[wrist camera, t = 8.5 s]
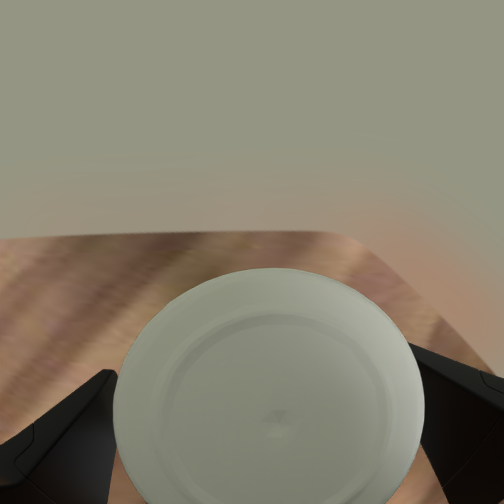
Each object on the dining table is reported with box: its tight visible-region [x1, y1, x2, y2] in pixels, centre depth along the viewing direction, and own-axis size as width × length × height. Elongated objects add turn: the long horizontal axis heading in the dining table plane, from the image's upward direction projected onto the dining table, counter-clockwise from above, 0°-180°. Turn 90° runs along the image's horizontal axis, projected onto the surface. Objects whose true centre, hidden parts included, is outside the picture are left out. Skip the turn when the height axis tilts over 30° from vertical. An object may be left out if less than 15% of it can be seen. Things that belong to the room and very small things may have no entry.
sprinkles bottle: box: [113, 268, 424, 504], centre depth 9 cm, size 5×5×14 cm
